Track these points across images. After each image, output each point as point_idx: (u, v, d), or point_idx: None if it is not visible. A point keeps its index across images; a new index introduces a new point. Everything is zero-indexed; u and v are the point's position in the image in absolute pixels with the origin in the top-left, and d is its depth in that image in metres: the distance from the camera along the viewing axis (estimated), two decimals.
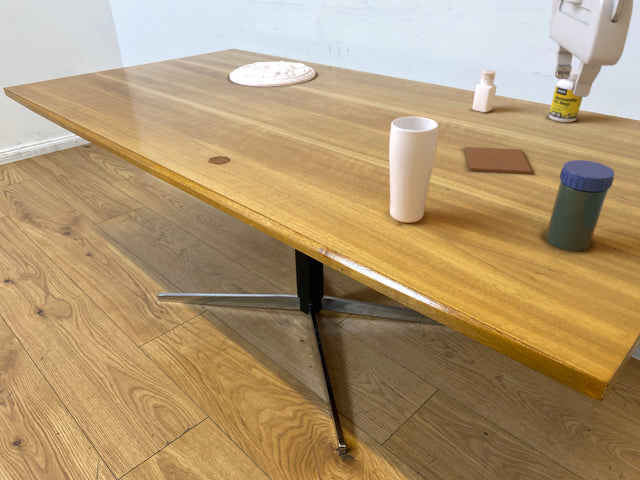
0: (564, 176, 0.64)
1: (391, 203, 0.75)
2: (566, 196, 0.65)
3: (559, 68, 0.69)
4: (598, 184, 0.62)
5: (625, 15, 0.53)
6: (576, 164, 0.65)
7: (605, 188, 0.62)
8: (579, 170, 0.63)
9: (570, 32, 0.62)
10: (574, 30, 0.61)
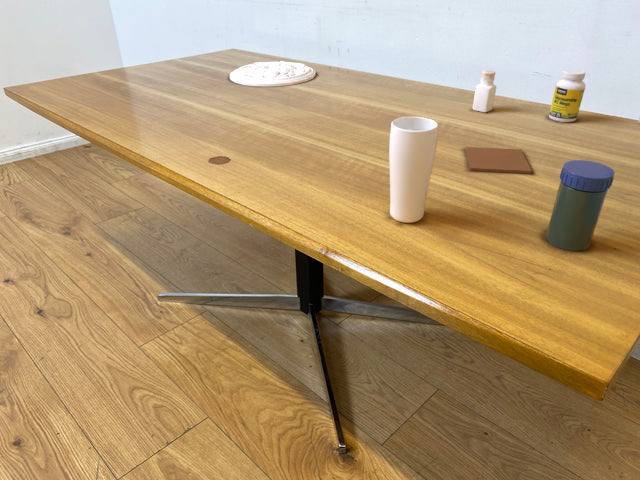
0: (564, 176, 0.64)
1: (391, 203, 0.75)
2: (566, 196, 0.65)
3: None
4: (598, 184, 0.62)
5: None
6: (576, 164, 0.65)
7: (605, 188, 0.62)
8: (579, 170, 0.63)
9: None
10: None
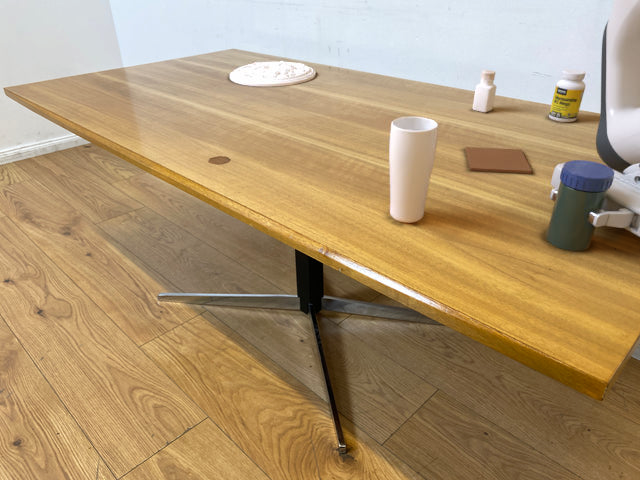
0: (564, 176, 0.64)
1: (391, 203, 0.75)
2: (566, 196, 0.65)
3: None
4: (598, 184, 0.62)
5: None
6: (576, 164, 0.65)
7: (605, 188, 0.62)
8: (579, 170, 0.63)
9: None
10: None
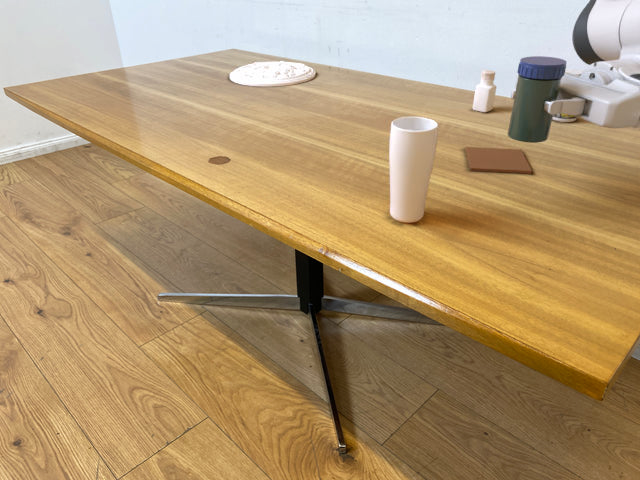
0: (520, 68, 0.69)
1: (391, 203, 0.75)
2: (522, 87, 0.69)
3: None
4: (550, 72, 0.66)
5: None
6: (532, 58, 0.70)
7: (558, 76, 0.67)
8: (534, 61, 0.68)
9: None
10: None
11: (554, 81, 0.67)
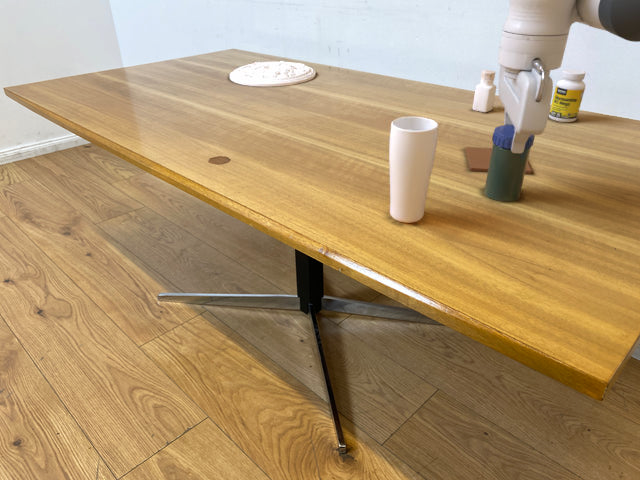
0: (494, 137, 0.77)
1: (391, 203, 0.75)
2: (496, 154, 0.77)
3: None
4: None
5: (546, 96, 0.64)
6: (505, 128, 0.78)
7: (526, 146, 0.75)
8: (506, 132, 0.76)
9: (509, 100, 0.74)
10: (512, 100, 0.72)
11: None
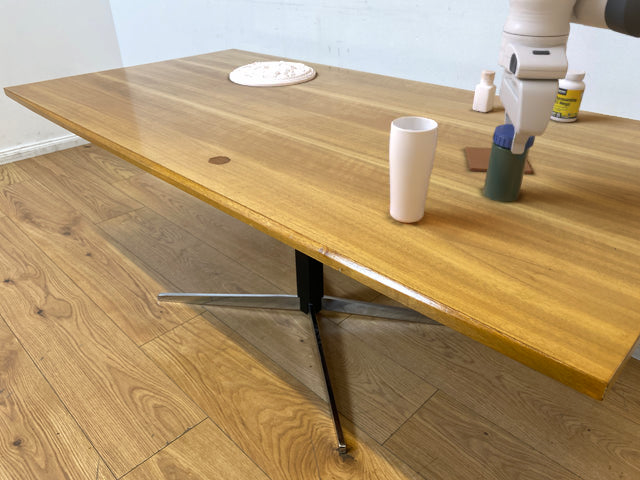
0: None
1: (391, 203, 0.75)
2: (496, 154, 0.77)
3: None
4: None
5: None
6: None
7: None
8: None
9: None
10: None
11: None
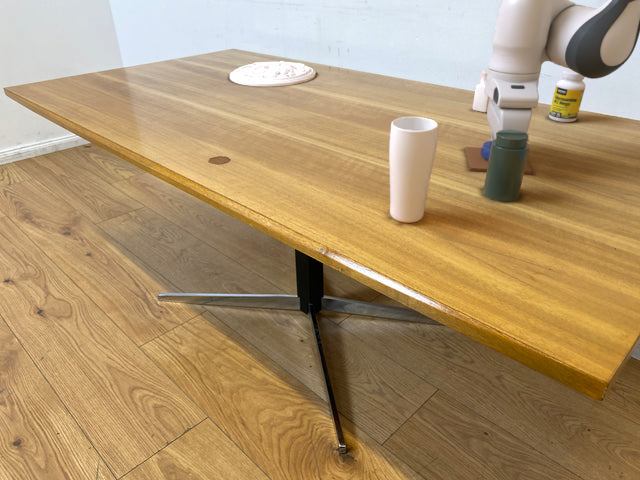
0: None
1: (391, 203, 0.75)
2: (496, 154, 0.77)
3: None
4: None
5: None
6: None
7: None
8: None
9: None
10: None
11: (523, 150, 0.76)
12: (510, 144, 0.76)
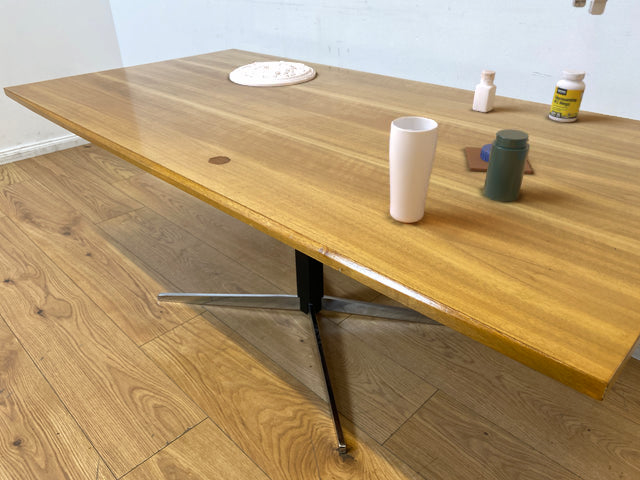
0: None
1: (391, 203, 0.75)
2: (496, 154, 0.77)
3: None
4: None
5: None
6: None
7: None
8: None
9: None
10: None
11: (523, 150, 0.76)
12: (510, 144, 0.76)
